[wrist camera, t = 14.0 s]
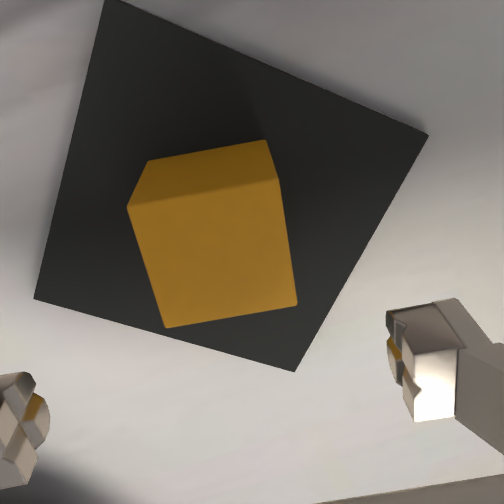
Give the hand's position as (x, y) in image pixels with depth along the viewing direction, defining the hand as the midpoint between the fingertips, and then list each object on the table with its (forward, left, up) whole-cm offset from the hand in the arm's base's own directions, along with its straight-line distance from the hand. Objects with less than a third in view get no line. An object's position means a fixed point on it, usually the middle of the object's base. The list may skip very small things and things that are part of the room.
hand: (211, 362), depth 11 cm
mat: (0, 0, -9) cm, 9 cm away
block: (0, 0, -9) cm, 9 cm away
